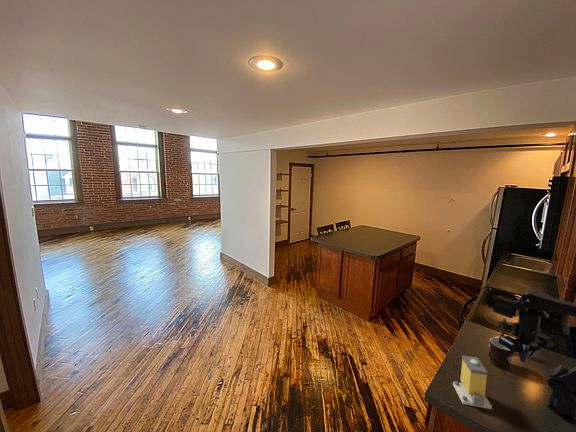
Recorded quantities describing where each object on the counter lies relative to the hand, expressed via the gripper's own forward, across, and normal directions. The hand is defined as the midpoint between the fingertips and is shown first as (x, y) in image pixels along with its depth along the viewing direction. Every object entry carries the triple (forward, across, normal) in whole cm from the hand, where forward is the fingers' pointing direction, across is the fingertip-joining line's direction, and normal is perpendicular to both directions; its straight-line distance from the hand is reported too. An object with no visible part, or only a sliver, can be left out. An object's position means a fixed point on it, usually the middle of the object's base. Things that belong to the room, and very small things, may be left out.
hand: (522, 361), depth 95 cm
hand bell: (+12, -17, -21) cm, 30 cm away
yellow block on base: (+10, +21, -1) cm, 23 cm away
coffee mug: (+12, -5, -13) cm, 19 cm away
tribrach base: (+12, +21, -1) cm, 24 cm away
